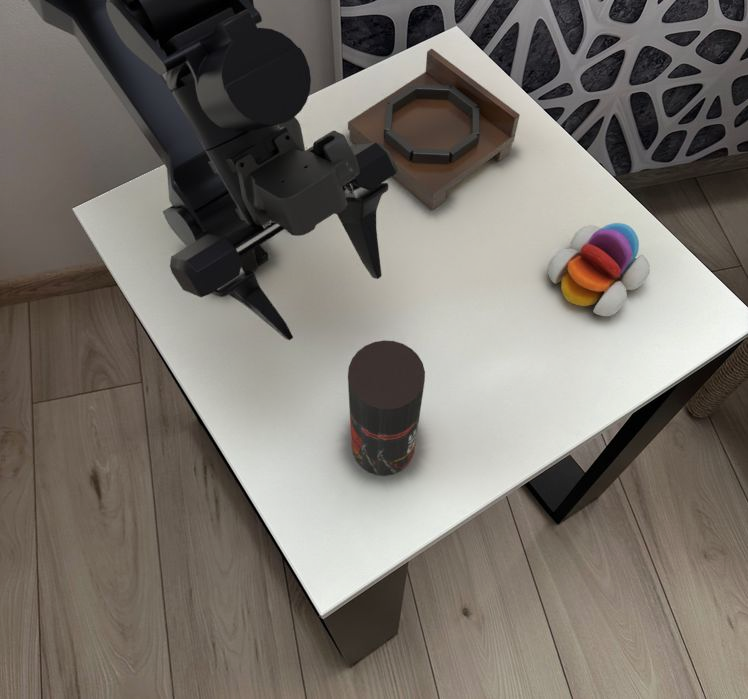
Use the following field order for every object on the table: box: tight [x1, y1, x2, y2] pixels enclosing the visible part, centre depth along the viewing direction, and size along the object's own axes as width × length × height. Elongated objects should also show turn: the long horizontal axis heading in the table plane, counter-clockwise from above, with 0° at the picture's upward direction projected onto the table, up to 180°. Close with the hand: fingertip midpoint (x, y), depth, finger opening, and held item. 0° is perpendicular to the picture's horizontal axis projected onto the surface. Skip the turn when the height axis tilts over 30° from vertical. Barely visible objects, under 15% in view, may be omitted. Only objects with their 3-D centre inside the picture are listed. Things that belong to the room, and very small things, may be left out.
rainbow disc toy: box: [547, 222, 651, 317], centre depth 78 cm, size 8×10×7 cm
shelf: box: [347, 48, 521, 211], centre depth 87 cm, size 14×13×6 cm
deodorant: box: [347, 339, 426, 477], centre depth 66 cm, size 6×6×15 cm
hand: (334, 307), depth 63 cm, fingers open, 9 cm apart
